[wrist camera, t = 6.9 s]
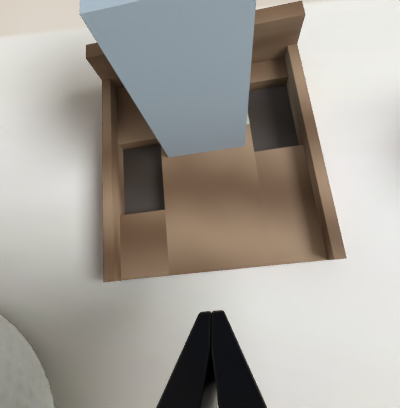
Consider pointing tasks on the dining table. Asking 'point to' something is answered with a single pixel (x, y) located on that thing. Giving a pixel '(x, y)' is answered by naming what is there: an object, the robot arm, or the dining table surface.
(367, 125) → the dining table surface
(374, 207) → the dining table surface
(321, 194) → the box
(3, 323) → the cereal bowl
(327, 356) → the dining table surface
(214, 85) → the blue block
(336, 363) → the dining table surface
